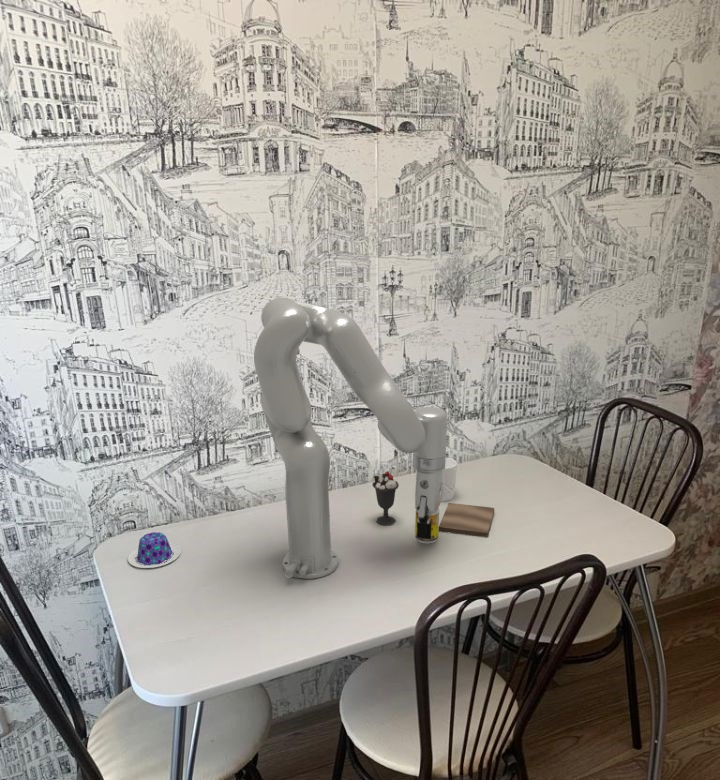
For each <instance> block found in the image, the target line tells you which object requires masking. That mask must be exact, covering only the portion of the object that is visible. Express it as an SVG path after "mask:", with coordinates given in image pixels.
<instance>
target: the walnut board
mask: <svg viewBox="0 0 720 780" xmlns="http://www.w3.org/2000/svg"><path fill="white" fill-rule="evenodd" d="M445 508H446V509H445V511H444V513H443V516H442V518H441V520H440V521H439V529H438V532H440V531H442V532H441V533H448V532H450V533H451V534H456V535H457V534H458V535H465V536H466V535H467V536H474V537H483V538H488V537H489V533H490V529H491V525H492V522H493V518H494V514H495V507H491V506H490V507H489V506H481V505H471V504H463V503H454V502H453V503H452V502H448V503H447V506H446V507H445ZM450 533H449V534H450Z"/></svg>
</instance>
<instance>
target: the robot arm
mask: <svg viewBox="0 0 720 780" xmlns="http://www.w3.org/2000/svg"><path fill="white" fill-rule="evenodd" d="M260 319H261V323H262V327H263V329H262V331H261V332H260V333H259V336H258V337H257V340H256V343H255V345H254V350H253V362H254V363H253V365H254V369H255V373H256V376H257V379H258V381H259V385H260V389H261V391H262V392H261V395H260V405H261V409H262V412H263V415H264V418H265V421H266V423H267V426H268V428H269V432H270V435H271V437H272V440H273V443H274V445H275V448H276V450H277V452H278V453H279V456H280V458H281V460H282V461H283V464H284V467H285V485H284V487H285V489H284V494H285V495H284V496H285V507H286V508H285V509H286V525H287V526H286V528H287V542H288V544H287V545H288V553H287V554H286V555H284V557H283V560H282V568H283V571H284V575H285V577H287V578H289V579H290V578H293V577H294V578H297V579H305V580H307V579H309V580H311V579H319V578H322V577H325V576H328V575H329V574H331V573H333V572H334V571H335V570H336V569H337V568H338V565H339V556H338V555H337V553H336V552H335V551H334V550H332V546H331V545H332V544H331V543H332V542H331V519H330V518H331V515H330V511H331V510H330V497H329V496H330V495H329V494H330V493H329V492H330V490H329V485H330V483H329V480H330V479H329V478H330V469H331V457H330V452H329V449H328V447H327V444H326V443H325V442H324V440H323V439H322V438H321V437H320V435H319V434H318V433H317V431H316V430H315V428H314V426H313V424H312V420H311V417H312V406H311V405H312V404H311V401H310V398H309V397H308V394H307V392H306V389H305V386H304V383H303V380H302V377H301V374H300V370H299V366H298V362H297V353H298V350H299V347H300V346H301V345H302V343H303V342H304V343H308V344H315V345H319V346H320V345H321V346H322V347H323V348H324V350H326V353H328V356H329V357H330V358H331V360H332V361H333V363H334V364H335V366H336V368H337V369H338V370H339V372H340V373H341V375H342V376H343V379H344V380H345V381H346V383H347V385H348V386H349V388H350V389H351V390H352V392H353V393H354V394H355V396H356V397H357V398H358V399H359V400H360V401H361V402H362V403H363V404H364V405H365V406H366V407H367V408H368V409H369V410H370V411H371V412H372V413H373V415H374V416H375V417H376V418H377V429H378V431H379V433H380V435H382V436H383V438H384V439H386V440H387V441H388V442H389V443H390V444H392V445H393V447H394V448H396V450H398V451H400V453H404V454H412V468H413V469H415V471H416V476H415V492H414V493H415V494H414V505H415V507H414V508H415V511H416V510H417V511H418V510H419V513H418V522H417V537H418V538H425V539H430V538H431V523H430V518H431V512H433V513H435V512H436V511H437V510H438V508H439V507H440V506H441V503H442V502H443V501H442V497H443V472H442V470H444V469H445V460H446V458H447V456H446V453H447V452H446V451H447V432H448V431H447V430H448V429H447V428H448V416H447V412H446V411H445V410H443V408H439V407H433V406H432V407H431V406H428V407H427V406H426V407H421V408H413V407H412V405H411V403H410V402H409V401H408V399H407V398H406V397H405V395H404V394H403V392H402V391H401V390H400V387H398V385H397V383H396V382H395V381H394V379H393V378H392V376H391V375H390V374H389V372H388V371H387V369H386V368H385V366H384V365H383V363H382V362H381V360H380V358H379V356H377V354H376V352H375V351H374V349H373V346H372V345H371V343H370V342H369V341H368V338H367V337H366V335H365V334H364V332H363V331H362V328H360V325H359V324H358V323H357V321H355V320H354V319H353V318H352V317H351V316H349V315H347V314H345V313H343V312H341V311H340V310H337V309H334V308H329V307H325V306H320V305H315V304H312V303H308V302H303V301H299V300H295V299H292V298H287V297H276V298H272V299H271V300H269V301H267V303H266V304H265V305H264V306H263V308H262V311H261V317H260ZM426 508H428V509H429V510H426ZM439 509H440V508H439ZM425 513H428V517H427V516H425Z"/></svg>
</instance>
